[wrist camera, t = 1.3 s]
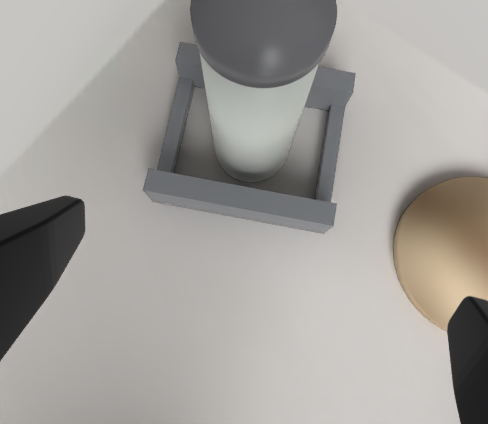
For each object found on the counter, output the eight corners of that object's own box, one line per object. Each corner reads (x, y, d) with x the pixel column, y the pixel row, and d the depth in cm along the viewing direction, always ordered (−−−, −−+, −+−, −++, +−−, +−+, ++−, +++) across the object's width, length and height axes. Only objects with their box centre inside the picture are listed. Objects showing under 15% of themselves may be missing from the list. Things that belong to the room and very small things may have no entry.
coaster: (505, 373, 22) (515, 376, 21) (363, 274, 23) (367, 273, 22) (578, 238, 23) (590, 236, 22) (443, 151, 24) (449, 146, 24)
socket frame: (323, 233, 23) (333, 226, 21) (152, 201, 23) (142, 190, 21) (344, 95, 25) (355, 73, 23) (185, 66, 25) (180, 41, 23)
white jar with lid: (260, 198, 24) (282, 102, 12) (197, 154, 24) (160, 22, 13) (304, 138, 24) (364, -6, 13) (242, 97, 25) (247, -77, 13)
